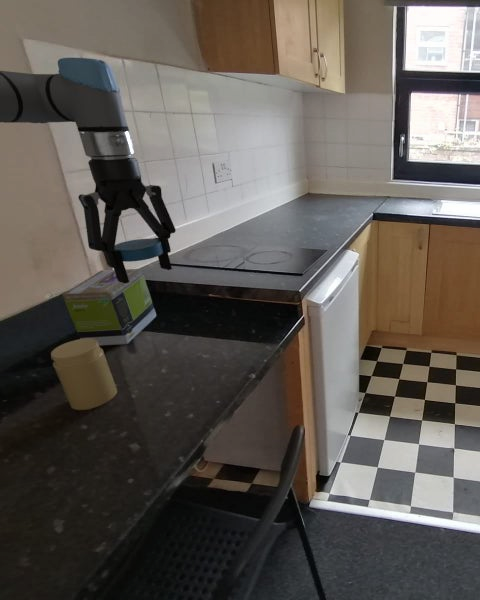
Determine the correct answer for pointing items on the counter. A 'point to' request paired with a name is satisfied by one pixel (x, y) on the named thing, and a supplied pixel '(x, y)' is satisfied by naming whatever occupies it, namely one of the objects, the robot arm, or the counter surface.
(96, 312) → the tea box
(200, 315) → the counter surface
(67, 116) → the robot arm
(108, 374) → the jam jar
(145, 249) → the jar lid
